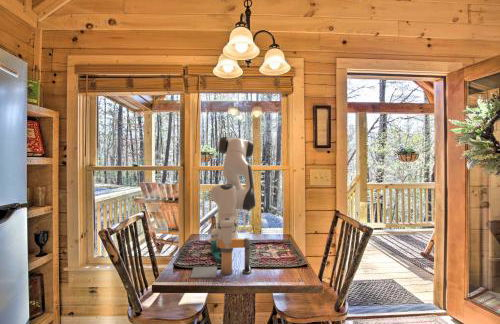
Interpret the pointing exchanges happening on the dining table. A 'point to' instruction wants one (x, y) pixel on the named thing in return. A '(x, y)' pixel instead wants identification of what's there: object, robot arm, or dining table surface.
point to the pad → (203, 272)
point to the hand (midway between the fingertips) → (227, 247)
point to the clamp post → (247, 262)
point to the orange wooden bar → (236, 243)
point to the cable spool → (226, 261)
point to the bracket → (216, 251)
